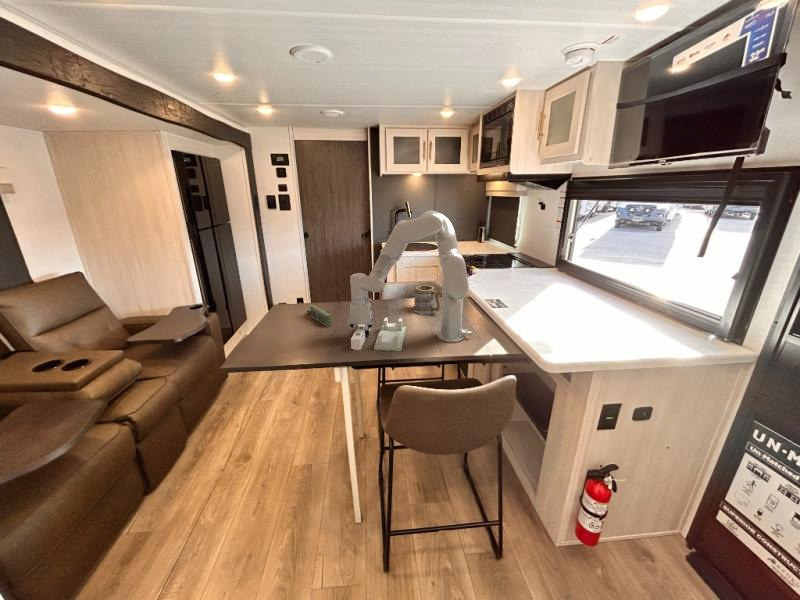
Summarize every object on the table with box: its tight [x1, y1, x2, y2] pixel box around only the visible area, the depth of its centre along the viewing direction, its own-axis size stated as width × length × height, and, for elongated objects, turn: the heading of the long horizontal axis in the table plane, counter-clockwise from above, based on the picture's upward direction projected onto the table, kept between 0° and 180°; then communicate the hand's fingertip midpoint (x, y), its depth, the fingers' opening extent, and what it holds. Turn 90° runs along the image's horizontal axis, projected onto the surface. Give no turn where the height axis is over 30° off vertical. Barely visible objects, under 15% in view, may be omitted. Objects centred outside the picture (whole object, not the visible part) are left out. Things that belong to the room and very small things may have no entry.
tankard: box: [412, 284, 442, 316], centre depth 175 cm, size 20×13×15 cm, turn 43°
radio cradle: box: [373, 317, 407, 352], centre depth 145 cm, size 12×22×6 cm, turn 174°
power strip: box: [350, 324, 371, 351], centre depth 147 cm, size 4×24×5 cm, turn 174°
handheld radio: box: [306, 304, 333, 328], centre depth 167 cm, size 7×3×25 cm
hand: (361, 336), depth 148 cm, fingers closed on power strip, 4 cm apart
